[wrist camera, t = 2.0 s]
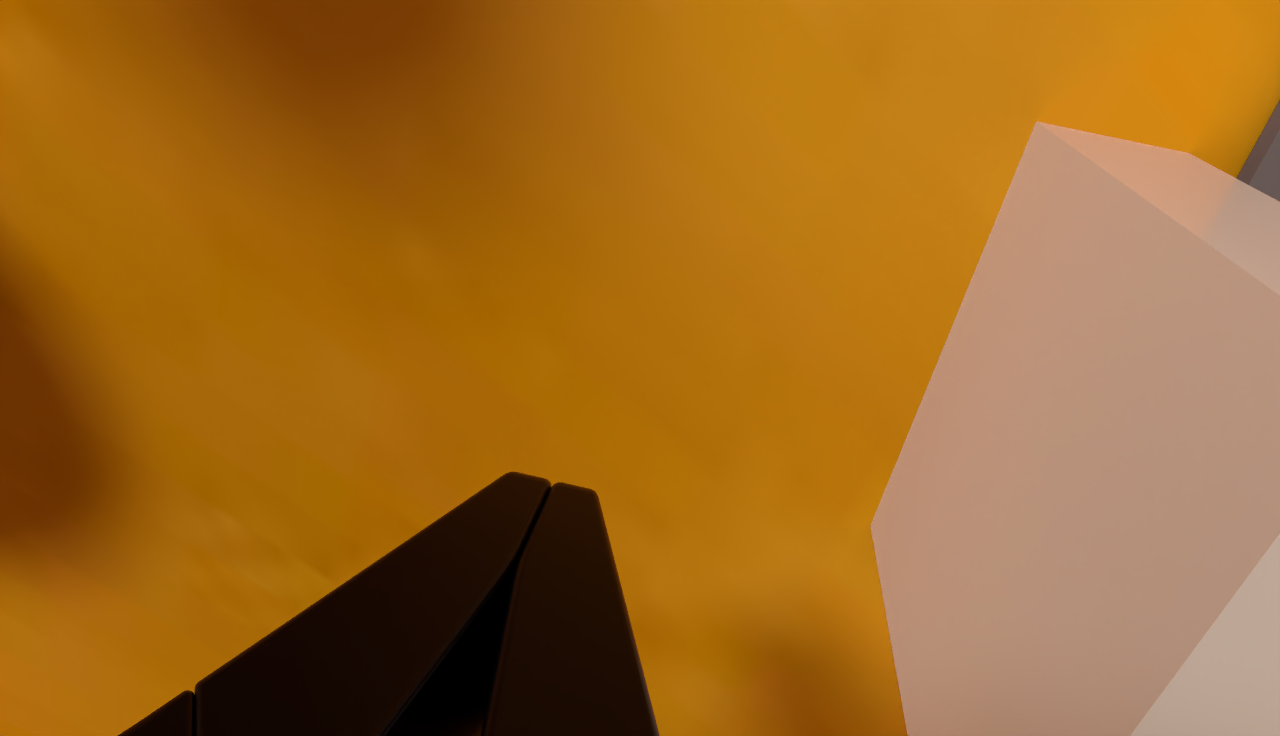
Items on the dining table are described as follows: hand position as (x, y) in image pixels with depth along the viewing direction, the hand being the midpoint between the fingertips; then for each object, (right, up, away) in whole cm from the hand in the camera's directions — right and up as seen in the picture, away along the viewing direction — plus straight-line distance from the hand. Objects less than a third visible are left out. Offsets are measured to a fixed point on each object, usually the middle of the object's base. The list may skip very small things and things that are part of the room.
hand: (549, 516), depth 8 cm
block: (+6, +1, +5) cm, 8 cm away
